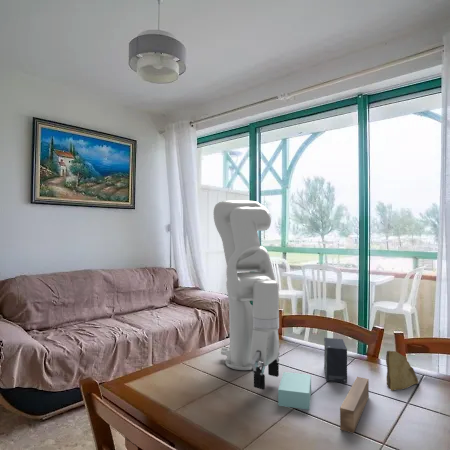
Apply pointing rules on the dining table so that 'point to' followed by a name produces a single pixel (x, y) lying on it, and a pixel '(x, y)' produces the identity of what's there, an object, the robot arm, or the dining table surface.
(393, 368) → the rock
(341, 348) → the small box
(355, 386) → the walnut board
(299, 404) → the teal block
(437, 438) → the dining table surface
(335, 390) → the dining table surface
